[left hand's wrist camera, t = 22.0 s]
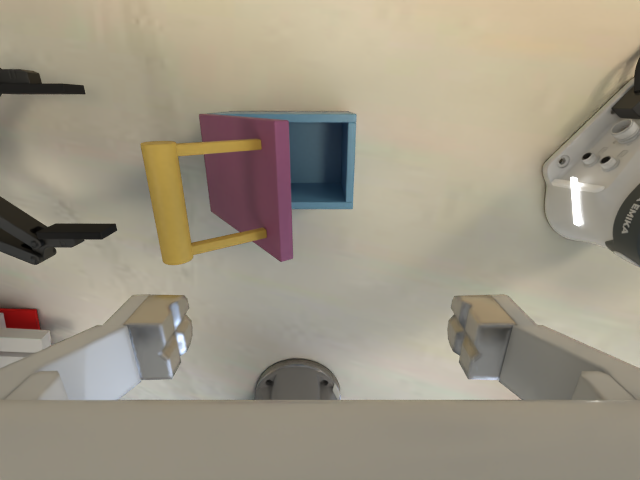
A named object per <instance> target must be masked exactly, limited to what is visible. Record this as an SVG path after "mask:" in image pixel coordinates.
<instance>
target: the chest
mask: <svg viewBox="0 0 640 480" xmlns="http://www.w3.org/2000/svg"><path fill="white" fill-rule="evenodd" d="M210 114H216V115H229V116H242V117H254V118H267V119H279V120H288V121H289V143H290V176H291V208H292V209H353V188H354V163H355V137H356V114H354V113H351V112H348V111H229V112H220V113H210Z"/></svg>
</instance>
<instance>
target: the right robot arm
mask: <svg viewBox="0 0 640 480" xmlns="http://www.w3.org/2000/svg"><path fill="white" fill-rule="evenodd" d="M2 94H85V90H84V86H83V85H72V84H42V82H41V78H40V75H39V73H37V72H34V71H29V70H21V69H1V68H0V96H1V95H2ZM115 231H117V228H116V224H54V225H51V226H49V227H47V226H45V225H44V224H42V223H40V222H39V221H37V220H36V219H34V218H33V217H31V216H30V215H28V214H27V213H25V212H23V211H22V210H20V209H19V208H17V207H16V206H14V205H13V204H11V203H10V202H8V201H6V200H5V199H3V198H2V197H0V251H1V252H3V253H6V254H8V255H11V256H13V257H16V258H18V259H21V260H23V261H26V262H28V263H31V264H34V265H37V264H39V263H41V262H43V261H44V260H46V259H48V258H50V257H52V256H53V255H55V254H56V249H55V248H54V247H74V246H76V245H78V244H79V243H81V242H83V241H84V239H104V238H105V237H107V236H109V235H110V234H112V233H114V232H115ZM255 400H341V399H340V387H339V383H338V381H337V379H336V377H335V376H334V374H333V373H332V372H331V371H330V370H328V369H327V368H326V367H324V366H322V365H321V364H319V363H316V362H313V361H309V360H303V359H291V360H285V361H281V362H279V363H276V364H274V365H272V366H271V367H269V368H268V369H267V370H266V371H264V373H263V374H262V375H261V377H260V378H259V380H258V383H257V387H256V392H255Z"/></svg>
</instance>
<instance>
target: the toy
mask: <svg viewBox="0 0 640 480" xmlns="http://www.w3.org/2000/svg"><path fill="white" fill-rule="evenodd" d="M51 344H52V343H51V336H50V330H40V325H39V319H38V314H37V309H4V308H0V368H2V367H4V366H7V365H9V364H11V363H13V362H16V361H18V360H20V359H22V358H25V357H27V356H29V355H31V354H34V353H36V352H38V351H40V350H43V349H45V348H47V347H49V346H50V345H51Z"/></svg>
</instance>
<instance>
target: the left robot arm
mask: <svg viewBox="0 0 640 480" xmlns="http://www.w3.org/2000/svg"><path fill="white" fill-rule="evenodd" d="M561 158H562V162H561V163H559V160H560V159H561ZM543 176H544V180H545V183H546V196H545V214H546V217H547V220H548V222H549V224H550V226H551V227H552V228H553V229H554V231H556V232H557V233H558V234H559V235H561V236H563V237H565V238H567V239H570V240H575V241H583V242H588V243H592V244H595V245H599V246H602V247H605V248H608V249H610V250H611V251H612V252H613V253H614V254H615V255H617V256H619V257H621V258H622V259H624V260H626V261H628V262H630V263H632V264H634V265H636V266H638V267H640V58H639V60H638V62H637V65H636V69H635V76H634V78H632V79H631V80H630V81H629V82H628V83H627V84H626V85H625V86H624V87H623V88H622V89H620V90H619V91H618V92H617V93H616V94H615V95H614V96H613V97H612V98H611V99H610V100H609V101H608V102H607V103H606V104H605V105H604V106H603V107H602V108H601V109H600V110H599V111H598V112H597V113H596V114H595V115H594V116H592V117H591V118H590V119H589V120H588V121H587V122H586V123H585V124H584V125H583V126H582V127H581V128H580V129H579V130H578V131H577V132H576V133H575V134H574V135H573V136H572V137H571V138H570V139H569V140H568V141H567V142H566V143H565V144H563V145H562V146H561V147H560V148H559V149H558V150H557V151H556V152H555V153H554V154H553V155H552V156H551V157H550V158H549V159H548V160H547V161H546V162H545V163H544V165H543ZM188 309H189V304H188V300H187V298H186V297H185V296H184V295H133V296H131V297H130V298H129V299H128V300H127V301H126V302H125V303H124V304H123V305H122V306H121V307H120V308H119V309H118V310H117V311H116V312H115V313H114V314H113V315H112V316H111V317H110V318H109V319H108V320H107V321H106V322H105V323H104V324H103V325H97V326H95V327H92V328H90V329H88V330H85V331H83V332H81V333H79V334H76V335H74V336H72V337H70V338H67V339H65V340H63V341H61V342H58V343H56V344H54V345H52V346H49V347H47V348H45V349H43V350H40V351H38V352H36V353H34V354H31V355H29V356H27V357H25V358H22V359H20V360H18V361H16V362H13V363H11V364H9V365H7V366H4V367H2V368H0V480H640V368H638V367H635V366H633V365H631V364H629V363H626V362H624V361H622V360H620V359H617V358H615V357H613V356H611V355H608V354H606V353H604V352H602V351H599V350H597V349H595V348H593V347H590V346H588V345H586V344H584V343H581V342H579V341H577V340H575V339H572V338H570V337H568V336H566V335H563V334H561V333H559V332H557V331H554V330H552V329H550V328H548V327H545V326H543V325H537V324H536V323H535V322H534V321H533V320H532V319H531V318H530V317H529V316H528V315H527V314H526V313H525V312H524V311H523V310H522V309H521V308H520V307H519V306H518V305H517V304H516V303H515V302H514V301H513V300H512V299H511V298H510V297H509V296H507V295H504V294H501V295H468V296H454V298H453V300H452V304H451V309H452V311H453V312H454V315H453V316H452V317H451V318H450V320H449V321H448V329H447V331H448V340H449V343H450V346H451V348H452V350H453V352H455V353H456V354H458V355H459V356H460V359H459V363H460V365H461V367H462V369H463V370H464V372H465V374H466V376H467V378H468V379H482V380H499V382H500V383H502V384H503V385H504V386H505V387H507V388H508V389H509V390H510V391H512V392H513V393H514V394H516V395H517V396H518V397H519V398H521V399H522V400H118V399H119V398H121V397H122V396H123V395H125V394H126V393H127V392H128V391H130V390H131V389H132V388H134V387H135V386H136V385H137V384H139V383H140V382H141V380H157V379H172V378H173V376H174V374H175V372H176V370H177V369H178V367H179V365H180V363H181V359H180V356H181V355H182V354H184V353H185V352H187V350H188V348H189V346H190V344H191V339H192V321H191V320H190V318H189V317H188V316H187V315H186V312H187V311H188Z"/></svg>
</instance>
